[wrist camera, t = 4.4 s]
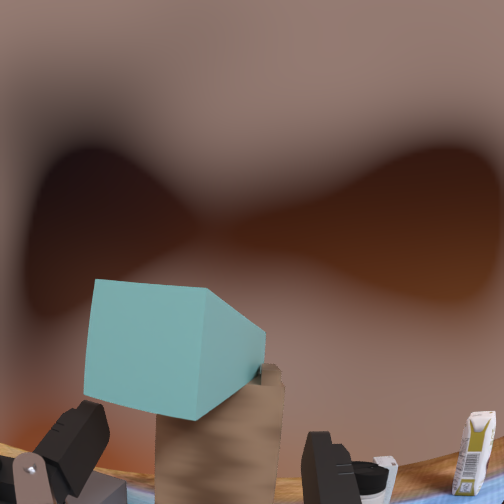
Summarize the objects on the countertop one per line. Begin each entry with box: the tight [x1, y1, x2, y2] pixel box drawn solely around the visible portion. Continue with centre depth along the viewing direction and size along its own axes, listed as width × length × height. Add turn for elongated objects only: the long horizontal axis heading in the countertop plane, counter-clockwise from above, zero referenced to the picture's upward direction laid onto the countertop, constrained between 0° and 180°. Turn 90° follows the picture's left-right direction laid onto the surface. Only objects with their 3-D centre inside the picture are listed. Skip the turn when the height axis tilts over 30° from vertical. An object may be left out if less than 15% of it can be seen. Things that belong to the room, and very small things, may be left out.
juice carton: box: [452, 411, 496, 496], centre depth 45 cm, size 8×9×19 cm
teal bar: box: [84, 279, 266, 421], centre depth 20 cm, size 4×24×4 cm, turn 173°
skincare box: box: [373, 456, 398, 504], centre depth 46 cm, size 6×4×12 cm
